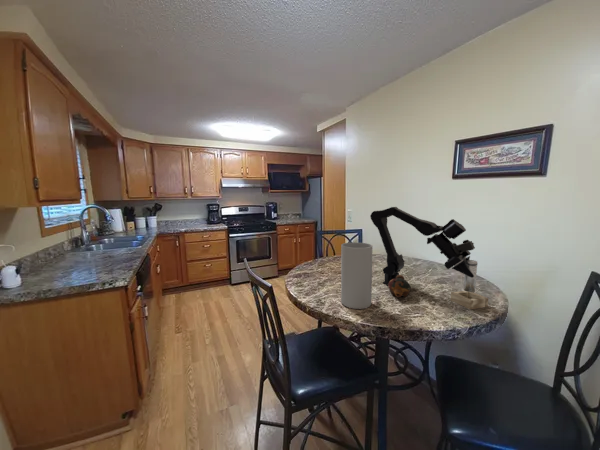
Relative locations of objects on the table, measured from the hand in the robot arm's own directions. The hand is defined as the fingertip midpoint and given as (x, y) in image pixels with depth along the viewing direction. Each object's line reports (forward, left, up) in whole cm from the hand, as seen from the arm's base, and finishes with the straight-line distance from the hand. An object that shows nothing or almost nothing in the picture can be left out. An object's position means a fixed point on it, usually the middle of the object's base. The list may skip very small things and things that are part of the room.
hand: (474, 275), depth 98 cm
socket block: (-1, +1, -12) cm, 12 cm away
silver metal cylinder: (-1, +1, -7) cm, 7 cm away
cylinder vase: (-46, +14, -12) cm, 49 cm away
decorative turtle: (-23, +17, -12) cm, 31 cm away
